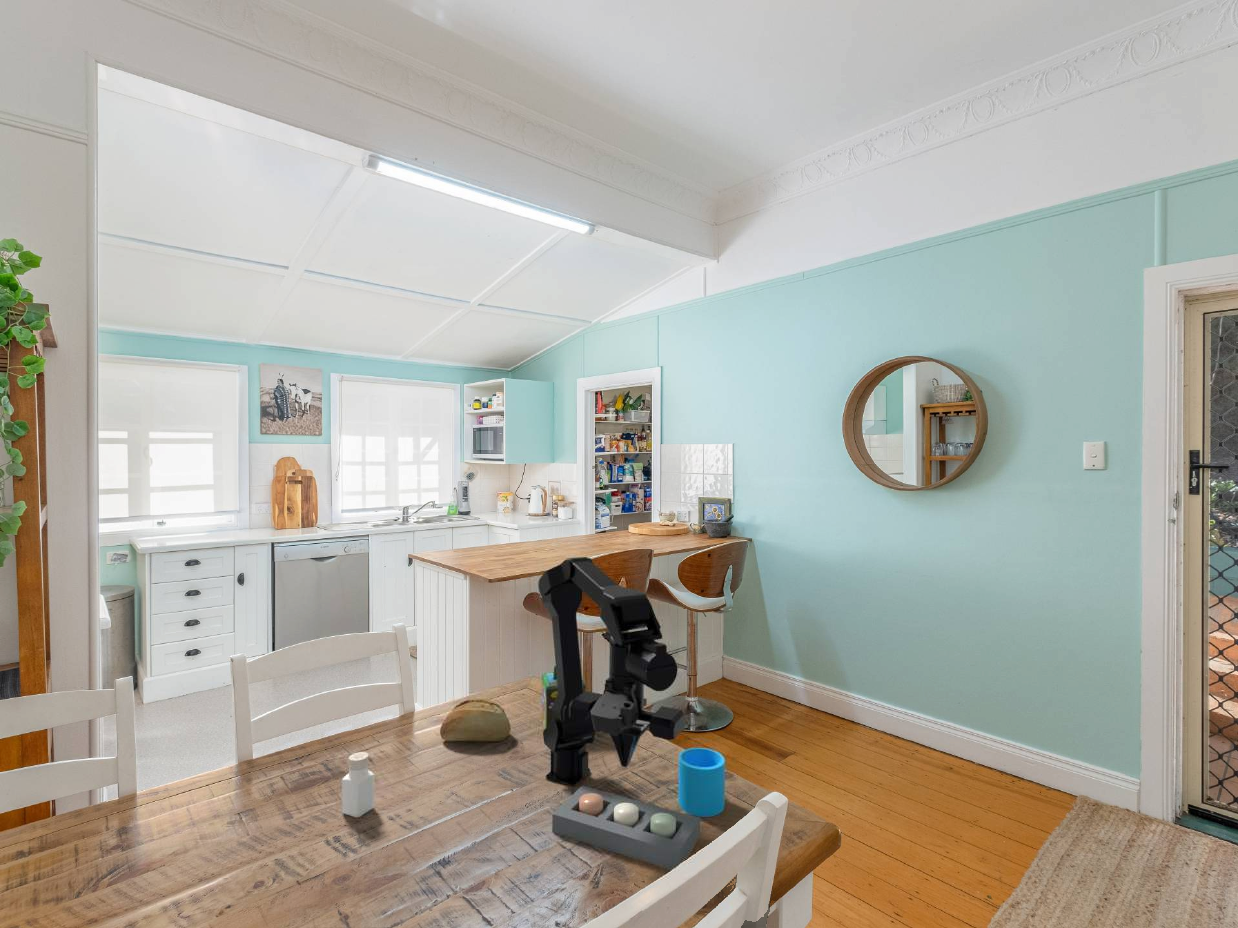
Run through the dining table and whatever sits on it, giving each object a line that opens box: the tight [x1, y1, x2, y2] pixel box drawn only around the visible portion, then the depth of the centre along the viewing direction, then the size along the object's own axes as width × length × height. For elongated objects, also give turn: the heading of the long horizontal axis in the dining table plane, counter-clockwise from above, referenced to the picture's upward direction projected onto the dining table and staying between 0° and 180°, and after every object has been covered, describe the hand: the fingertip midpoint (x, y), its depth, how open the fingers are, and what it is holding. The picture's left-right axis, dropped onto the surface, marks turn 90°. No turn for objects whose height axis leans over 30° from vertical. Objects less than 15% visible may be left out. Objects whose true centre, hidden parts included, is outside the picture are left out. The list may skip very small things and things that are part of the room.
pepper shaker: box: [341, 751, 376, 818], centre depth 108 cm, size 4×4×10 cm
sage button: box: [651, 813, 676, 839], centre depth 99 cm, size 4×4×2 cm
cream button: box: [614, 803, 639, 828], centre depth 102 cm, size 4×4×2 cm
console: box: [551, 785, 701, 871], centre depth 102 cm, size 22×10×3 cm, turn 64°
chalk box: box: [541, 665, 587, 731], centre depth 142 cm, size 9×9×15 cm
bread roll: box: [439, 698, 511, 742], centre depth 137 cm, size 10×15×8 cm, turn 100°
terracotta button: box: [579, 793, 603, 817], centre depth 105 cm, size 4×4×2 cm
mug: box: [677, 747, 726, 818], centre depth 114 cm, size 12×8×8 cm
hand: (625, 765), depth 103 cm, fingers closed
